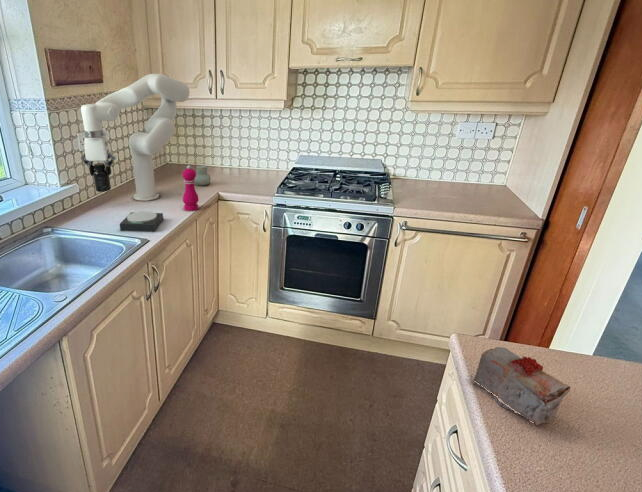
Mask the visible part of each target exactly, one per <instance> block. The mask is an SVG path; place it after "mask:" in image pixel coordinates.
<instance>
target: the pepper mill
mask: <svg viewBox="0 0 642 492" xmlns="http://www.w3.org/2000/svg"><path fill="white" fill-rule="evenodd" d="M196 174H197V173H196V170H195V169H194V168H192V166H191V165H190V164H188V165H187V166H186V168H185V169H184V170H183V171H182V178H183V184H184V185H185V186H184V187H185V190H184V193H183V194H182V203H183V204H184V205H183V209H184V210H185V211H188V212H193V211H197V210H198V209H199V204H198V203H199V196H198V193H197V191H196V188H195V177H196Z"/></svg>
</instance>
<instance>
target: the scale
mask: <svg viewBox="0 0 642 492" xmlns="http://www.w3.org/2000/svg"><path fill="white" fill-rule="evenodd" d="M163 221H164V213H163V212H153V211H145V210H143V211H136V212H134V211H133V212H132V211H131V212H130V213H129V214H127V216H125V218H124V219H122V220H121V222H120V223H119V229H120V231H121V232H144V233H145V232H146V233H147V232H149V233H155V231H156V230H157V229H158V227H160V225H161V223H162V222H163Z"/></svg>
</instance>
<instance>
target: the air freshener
mask: <svg viewBox="0 0 642 492" xmlns="http://www.w3.org/2000/svg"><path fill="white" fill-rule="evenodd" d="M195 169H196V170H195V172H196V177H195V183H194V185H195V186H196V185H197V186H200V187H201V186H202V187H203V186H207V185H209V184H210V183H211V174H210V173H208V166H207V165H203V164H201V165H197V166H196V167H195Z"/></svg>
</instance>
